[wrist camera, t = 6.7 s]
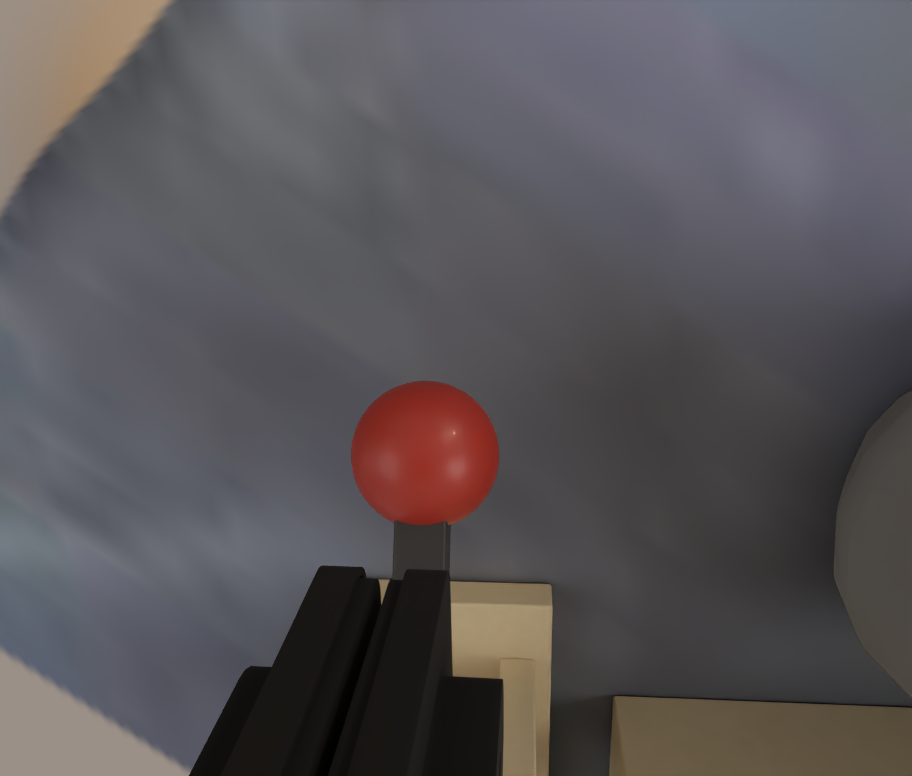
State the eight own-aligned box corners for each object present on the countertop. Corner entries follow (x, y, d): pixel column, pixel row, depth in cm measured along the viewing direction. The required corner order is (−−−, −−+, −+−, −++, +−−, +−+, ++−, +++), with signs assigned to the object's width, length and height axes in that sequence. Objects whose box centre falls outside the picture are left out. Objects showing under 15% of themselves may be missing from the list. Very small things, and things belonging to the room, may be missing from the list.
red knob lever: (369, 394, 19) (339, 366, 16) (502, 396, 19) (498, 366, 16) (337, 1109, 16) (294, 1245, 13) (492, 1122, 16) (485, 1263, 13)
